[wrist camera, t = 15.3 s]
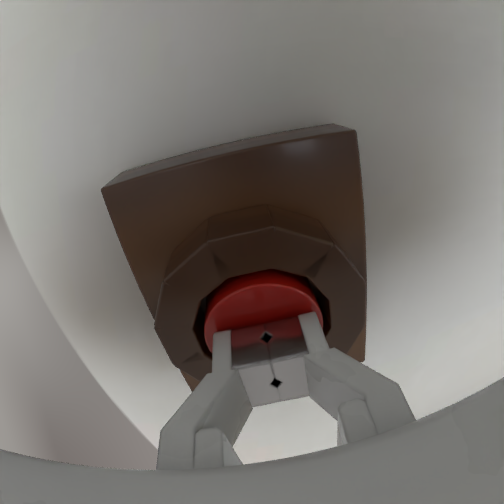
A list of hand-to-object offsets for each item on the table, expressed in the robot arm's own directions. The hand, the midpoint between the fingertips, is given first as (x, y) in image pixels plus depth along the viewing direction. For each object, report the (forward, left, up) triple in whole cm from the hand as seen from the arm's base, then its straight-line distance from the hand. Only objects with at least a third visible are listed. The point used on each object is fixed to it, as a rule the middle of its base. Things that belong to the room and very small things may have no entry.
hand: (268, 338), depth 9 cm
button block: (0, 0, -4) cm, 4 cm away
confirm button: (0, 0, -2) cm, 2 cm away
